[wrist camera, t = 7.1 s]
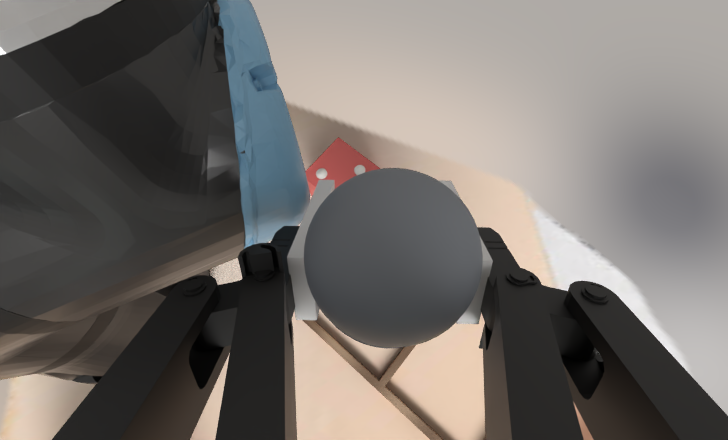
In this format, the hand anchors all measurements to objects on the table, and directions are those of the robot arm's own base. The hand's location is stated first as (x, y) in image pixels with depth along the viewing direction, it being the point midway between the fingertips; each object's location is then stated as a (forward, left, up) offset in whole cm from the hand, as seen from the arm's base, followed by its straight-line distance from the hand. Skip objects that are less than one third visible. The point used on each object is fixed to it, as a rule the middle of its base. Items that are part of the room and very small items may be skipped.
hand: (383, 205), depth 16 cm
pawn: (+2, -3, -5) cm, 6 cm away
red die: (-7, +3, -16) cm, 18 cm away
